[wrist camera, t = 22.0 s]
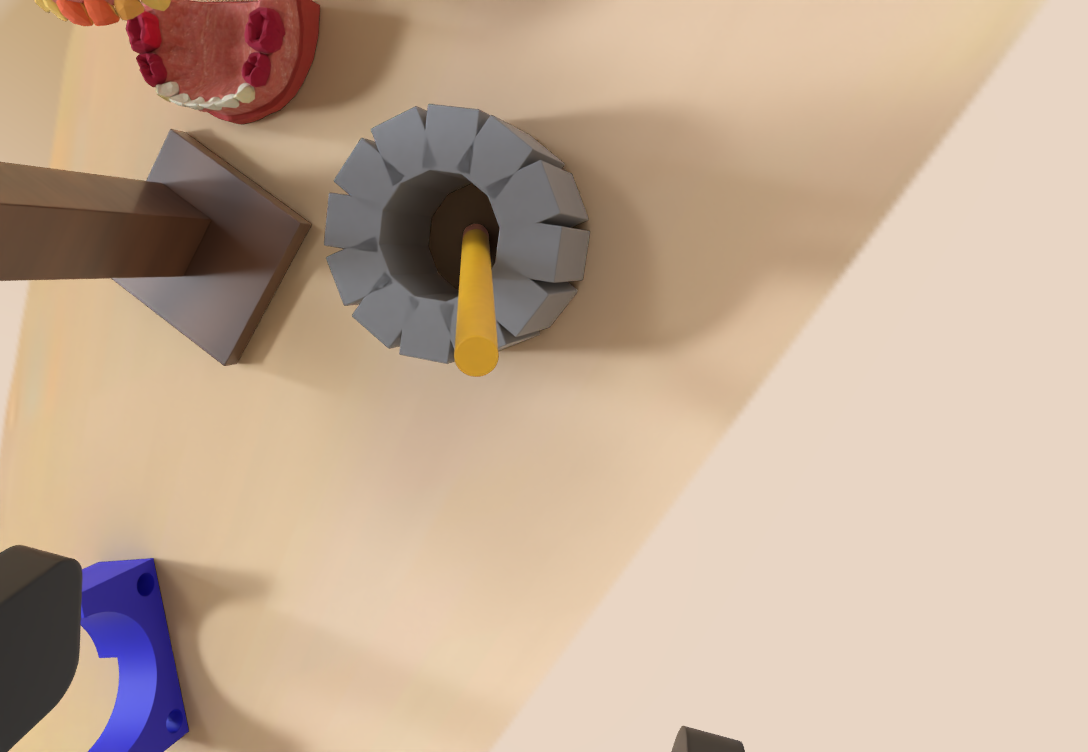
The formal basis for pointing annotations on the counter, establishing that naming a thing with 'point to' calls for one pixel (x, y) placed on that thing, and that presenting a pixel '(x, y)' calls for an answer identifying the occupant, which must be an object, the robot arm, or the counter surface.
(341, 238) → the grey segmented ring
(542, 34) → the counter surface
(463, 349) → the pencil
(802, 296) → the counter surface
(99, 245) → the brown pedestal stand
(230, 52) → the anatomical model
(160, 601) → the cable clip
